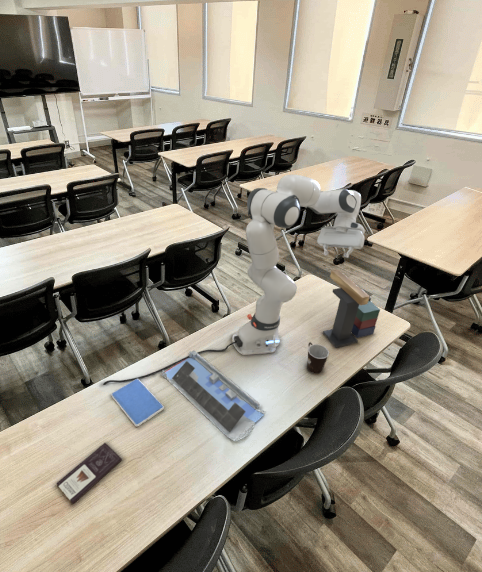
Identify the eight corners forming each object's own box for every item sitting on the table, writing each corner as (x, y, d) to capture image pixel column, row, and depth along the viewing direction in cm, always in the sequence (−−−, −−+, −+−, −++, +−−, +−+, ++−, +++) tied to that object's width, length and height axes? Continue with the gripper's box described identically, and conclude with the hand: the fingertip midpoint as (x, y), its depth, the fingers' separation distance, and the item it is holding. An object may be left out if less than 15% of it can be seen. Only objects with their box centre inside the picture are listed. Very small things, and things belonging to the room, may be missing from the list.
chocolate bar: (121, 458, 119) (72, 502, 107) (121, 460, 119) (73, 504, 107) (105, 442, 123) (56, 483, 112) (105, 444, 124) (57, 484, 112)
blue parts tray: (194, 354, 161) (193, 344, 158) (270, 416, 134) (272, 407, 131) (160, 374, 151) (159, 365, 148) (236, 447, 124) (237, 437, 121)
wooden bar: (360, 305, 150) (362, 297, 148) (329, 277, 168) (331, 270, 166) (367, 304, 151) (369, 296, 149) (336, 276, 169) (338, 268, 167)
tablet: (165, 408, 136) (165, 406, 136) (136, 428, 129) (136, 426, 129) (138, 379, 148) (137, 377, 147) (110, 396, 141) (109, 393, 140)
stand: (335, 348, 166) (347, 303, 151) (322, 333, 174) (332, 289, 160) (357, 343, 169) (371, 298, 155) (343, 328, 178) (355, 284, 163)
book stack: (356, 338, 172) (364, 313, 164) (338, 319, 184) (344, 295, 175) (373, 334, 175) (381, 309, 166) (354, 315, 186) (361, 292, 178)
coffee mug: (325, 377, 151) (329, 360, 146) (304, 373, 153) (307, 356, 147) (324, 357, 161) (328, 341, 155) (304, 354, 162) (308, 338, 156)
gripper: (319, 223, 163) (311, 251, 162) (364, 224, 150) (355, 255, 148) (324, 228, 168) (316, 256, 166) (368, 231, 155) (360, 261, 153)
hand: (335, 256), depth 157 cm, fingers open, 8 cm apart
